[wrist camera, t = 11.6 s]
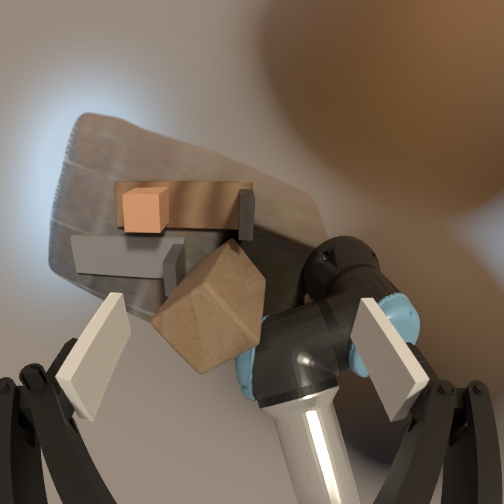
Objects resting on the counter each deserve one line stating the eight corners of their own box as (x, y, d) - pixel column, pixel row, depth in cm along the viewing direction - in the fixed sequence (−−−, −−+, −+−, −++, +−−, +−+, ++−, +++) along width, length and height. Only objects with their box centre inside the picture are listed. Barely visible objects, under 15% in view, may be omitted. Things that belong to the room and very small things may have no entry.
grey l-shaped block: (185, 236, 49) (174, 256, 41) (186, 277, 52) (177, 302, 44) (72, 234, 48) (48, 251, 39) (78, 270, 51) (57, 291, 42)
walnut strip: (252, 182, 46) (255, 191, 38) (249, 228, 49) (252, 246, 41) (117, 181, 45) (94, 191, 36) (119, 224, 48) (98, 241, 39)
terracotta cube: (168, 187, 45) (158, 194, 39) (169, 221, 47) (160, 232, 41) (135, 187, 44) (122, 194, 39) (137, 221, 47) (124, 232, 41)
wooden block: (224, 307, 53) (200, 376, 34) (191, 267, 51) (147, 322, 32) (267, 280, 51) (261, 345, 32) (232, 236, 49) (205, 281, 30)
